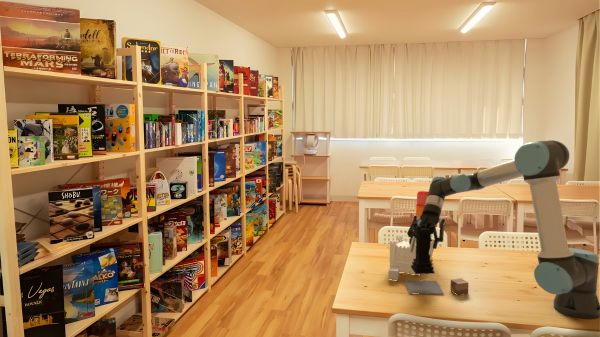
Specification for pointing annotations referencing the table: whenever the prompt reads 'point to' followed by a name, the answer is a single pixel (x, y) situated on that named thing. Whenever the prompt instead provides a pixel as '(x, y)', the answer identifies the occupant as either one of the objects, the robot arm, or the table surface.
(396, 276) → the grey plastic box
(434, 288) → the felt mat
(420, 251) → the chess piece
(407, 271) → the castle model
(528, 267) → the table surface
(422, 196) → the stacking cups
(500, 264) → the table surface
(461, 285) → the walnut cube
